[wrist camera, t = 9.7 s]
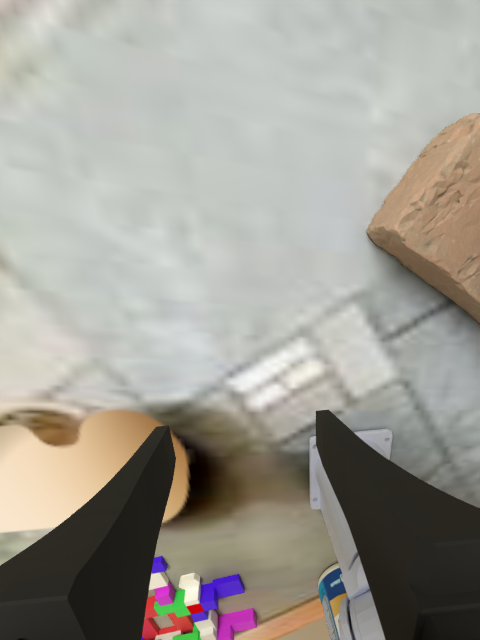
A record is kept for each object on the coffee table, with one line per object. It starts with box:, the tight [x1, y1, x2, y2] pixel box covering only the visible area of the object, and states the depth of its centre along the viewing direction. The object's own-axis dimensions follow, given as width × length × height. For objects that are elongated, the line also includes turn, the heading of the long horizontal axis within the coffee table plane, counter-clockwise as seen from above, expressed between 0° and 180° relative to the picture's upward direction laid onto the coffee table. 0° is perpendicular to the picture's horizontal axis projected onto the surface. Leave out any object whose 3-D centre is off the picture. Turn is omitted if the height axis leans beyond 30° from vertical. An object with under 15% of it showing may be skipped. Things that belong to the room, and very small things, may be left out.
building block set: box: [141, 556, 257, 640], centre depth 33 cm, size 25×21×4 cm
